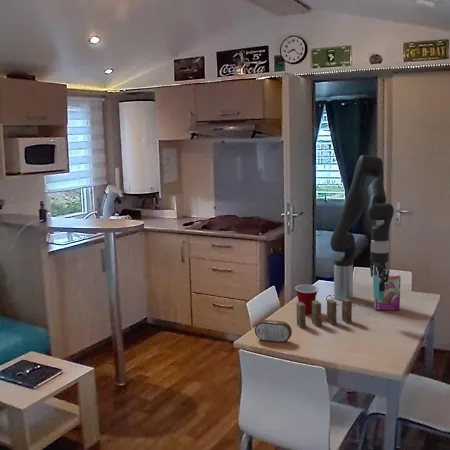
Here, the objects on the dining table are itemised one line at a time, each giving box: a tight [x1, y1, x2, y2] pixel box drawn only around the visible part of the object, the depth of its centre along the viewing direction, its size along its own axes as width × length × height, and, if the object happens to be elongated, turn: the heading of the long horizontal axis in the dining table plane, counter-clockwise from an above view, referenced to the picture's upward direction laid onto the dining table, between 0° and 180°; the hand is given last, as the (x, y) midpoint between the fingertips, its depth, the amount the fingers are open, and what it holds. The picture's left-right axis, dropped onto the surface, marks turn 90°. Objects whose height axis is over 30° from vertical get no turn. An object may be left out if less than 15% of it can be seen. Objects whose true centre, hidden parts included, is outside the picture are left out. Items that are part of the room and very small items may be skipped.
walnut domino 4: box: [341, 298, 353, 324], centre depth 248 cm, size 2×5×10 cm, turn 11°
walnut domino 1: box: [296, 301, 307, 329], centre depth 244 cm, size 2×5×10 cm, turn 11°
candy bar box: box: [373, 273, 401, 311], centre depth 262 cm, size 11×5×16 cm, turn 84°
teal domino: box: [373, 274, 384, 300], centre depth 240 cm, size 2×5×10 cm, turn 10°
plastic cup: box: [294, 284, 319, 315], centre depth 262 cm, size 11×11×12 cm
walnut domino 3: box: [326, 298, 338, 326], centre depth 246 cm, size 2×5×10 cm, turn 10°
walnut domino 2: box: [311, 300, 322, 327], centre depth 245 cm, size 2×5×10 cm, turn 11°
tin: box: [254, 319, 293, 343], centre depth 227 cm, size 15×3×8 cm, turn 71°
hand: (378, 289), depth 240 cm, fingers closed on teal domino, 5 cm apart
